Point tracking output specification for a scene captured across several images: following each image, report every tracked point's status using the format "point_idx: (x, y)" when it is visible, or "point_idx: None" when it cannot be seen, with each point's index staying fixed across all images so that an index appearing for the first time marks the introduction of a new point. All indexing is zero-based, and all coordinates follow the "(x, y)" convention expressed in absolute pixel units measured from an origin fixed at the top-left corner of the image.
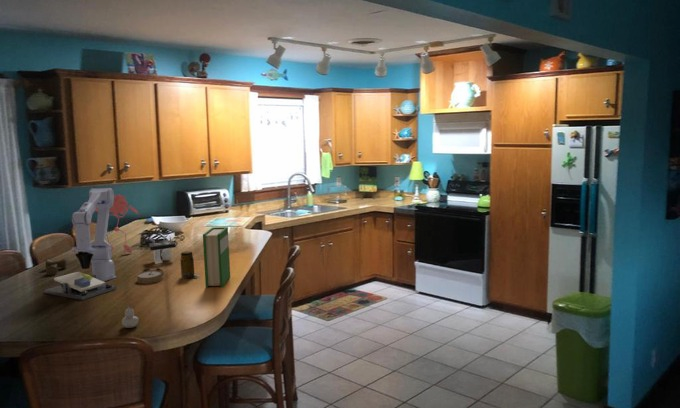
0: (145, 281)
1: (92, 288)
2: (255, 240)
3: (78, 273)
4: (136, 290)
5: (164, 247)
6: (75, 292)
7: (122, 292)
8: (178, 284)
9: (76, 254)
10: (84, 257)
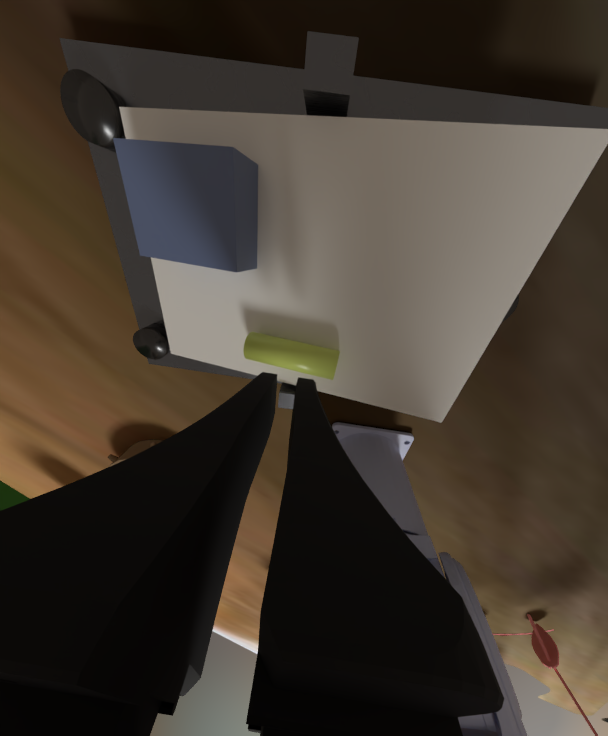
0: (135, 447)
1: None
2: (254, 646)
3: (414, 392)
4: (66, 363)
5: None
6: None
7: (80, 322)
8: (37, 449)
9: (383, 673)
10: (56, 499)
